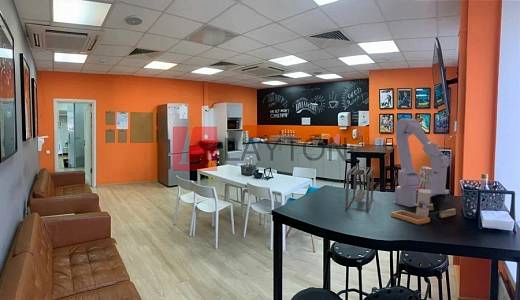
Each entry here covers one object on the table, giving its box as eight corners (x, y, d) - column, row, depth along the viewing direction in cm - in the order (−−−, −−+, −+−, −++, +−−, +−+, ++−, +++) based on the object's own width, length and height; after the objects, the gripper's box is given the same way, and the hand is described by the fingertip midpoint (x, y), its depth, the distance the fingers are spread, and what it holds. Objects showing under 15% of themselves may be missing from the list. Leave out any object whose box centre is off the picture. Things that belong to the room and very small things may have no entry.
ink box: (416, 213, 145) (418, 188, 144) (429, 215, 142) (430, 189, 141) (415, 218, 137) (417, 191, 136) (428, 220, 135) (430, 193, 134)
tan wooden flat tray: (391, 216, 139) (391, 212, 139) (402, 213, 143) (402, 210, 143) (418, 224, 128) (418, 220, 128) (429, 222, 132) (430, 217, 132)
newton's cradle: (367, 212, 145) (369, 174, 143) (344, 209, 149) (346, 172, 148) (372, 198, 172) (374, 166, 171) (353, 196, 177) (354, 165, 175)
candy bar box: (417, 193, 187) (419, 166, 186) (426, 193, 186) (428, 166, 185) (423, 197, 176) (425, 169, 175) (433, 198, 175) (435, 169, 174)
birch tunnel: (419, 211, 148) (419, 206, 148) (432, 208, 153) (433, 203, 153) (442, 217, 139) (442, 212, 138) (455, 214, 144) (456, 209, 144)
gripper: (438, 184, 137) (436, 214, 139) (456, 181, 145) (454, 210, 146) (423, 181, 143) (421, 210, 145) (441, 179, 151) (439, 206, 152)
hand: (436, 210), depth 146 cm, fingers closed
